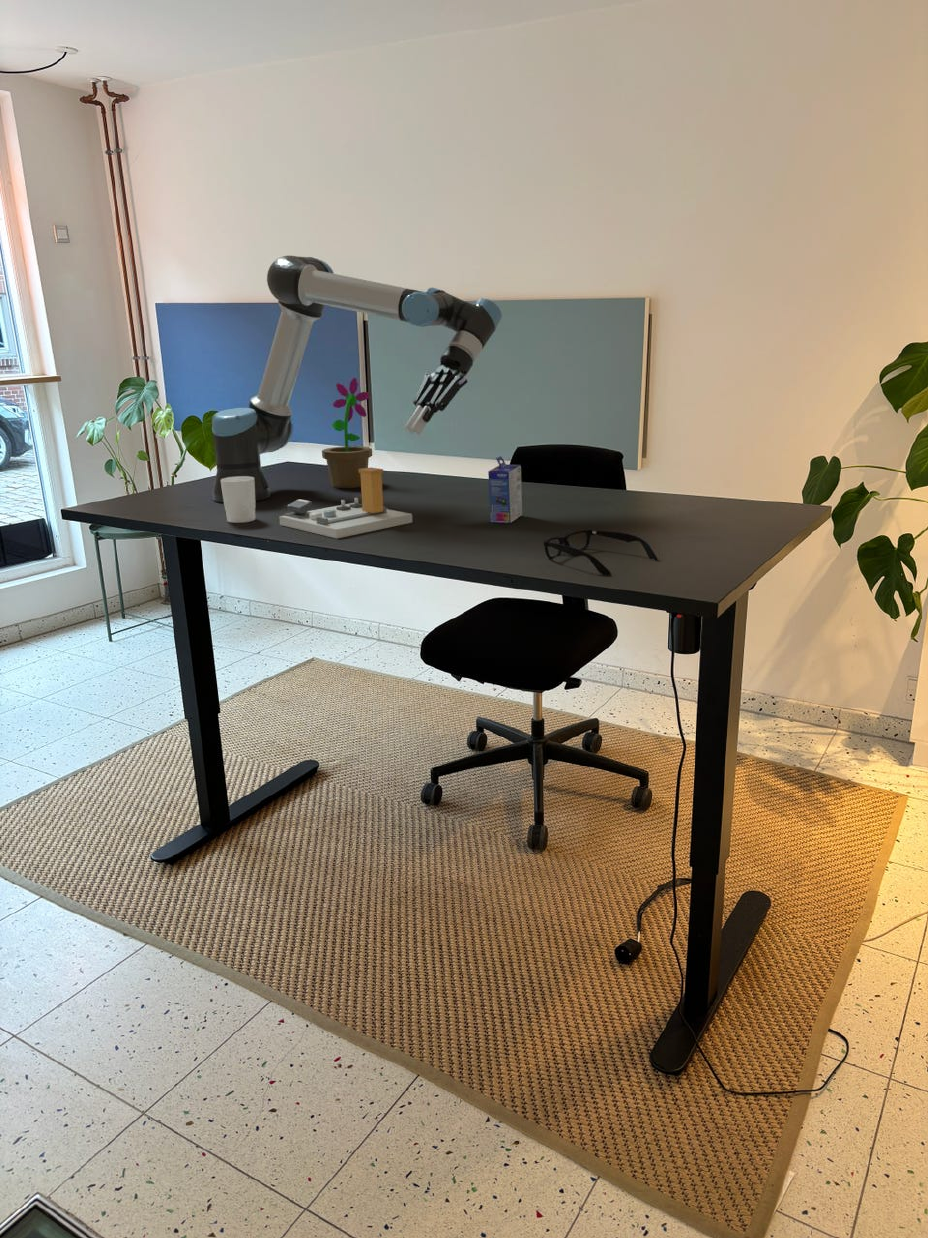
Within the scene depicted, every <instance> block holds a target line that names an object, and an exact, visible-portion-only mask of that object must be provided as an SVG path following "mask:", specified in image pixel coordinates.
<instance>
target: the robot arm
mask: <svg viewBox="0 0 928 1238" xmlns="http://www.w3.org/2000/svg"><path fill="white" fill-rule="evenodd" d="M266 283H267V286H268V289H269V292H270V293H271V295H272V296H273V297H274V298H275V299H276V300H277V303H278V306H279V308H280V311H281V312H280V314H279V315H280V316H279V319H278V323H277V326H276V330H275V334H274V337H273V340H272V345H271V348H270V352H269V355H268V358H267V362H266V365H265V368H264V372H263V375H262V376H263V377H262V380H261V382H260V386H259V390H258V393H257V395H255V396H253V397H251V398H250V400H249V405H248V407H235V408H230V409H225V410H221V411H218V412H216V413H215V414H214V415H213V416H212V419H211V422H212V425H211V426H212V427H211V432H212V437H213V445H214V446H213V448H214V455H215V465H216V474H215V480H214V484H213V488H212V500H213V501H215V502H217V503H224V500H223V494H222V487H221V479H223V478H228V477H237V476H249V477H254V480H255V502H256V501H257V502H258V501H262V500H263V501H264V500H266V499H268V498H270V497H271V491H270V490H271V489H270V487H269V484H268V482H267V479H266V477H265V474H264V472H263V470H262V465H261V455H262V454H266V453H273V452H276V451H279V450H280V449H283V448H284V447H286V446H287V445H288V444H289V442H290V440H291V439H292V437H293V432H294V425H293V424H294V423H292V418H291V416H292V413H293V411H292V408H291V407H290V406H289V404H290V400H291V397H292V395H293V394H292V393H293V391H294V387H295V385H296V380H297V379H298V378H297V377H298V375H299V371H300V368H301V364H302V361H303V357H304V354H305V351H306V347H307V344H308V340H309V337H310V333H311V331H312V327H313V323H314V322H316V321H318V320H320V319H321V318H322V315H323V311H324V309H325V306H328V307H333V308H338V309H342V310H348V311H353V312H358V313H362V314H367V315H373V316H377V317H380V318H381V317H382V318H384V319H385V318H386V319H390V320H395V321H401V322H405V323H407V324H408V323H409V324H410V325H412V326H416V327H420V328H421V327H428V326H429V327H430V326H443V327H445V328H447V329H450V330H452V331H454V332H456V333H455V334H454V336H453V337H452V339H451V340H450V342H449V343H448V346H447V347H446V348H445V349H444V351H443V353H442V355H441V356H440V359H439V360H440V365H439V366H438V367H437V368H436V369H435V371H434V372H432V373H430V372H425V374H424V378H423V380H422V383H421V384H420V387H419V389H418V391H417V392H416V394H415V396H414V398H413V400H412V403H413V405H414V406H415V408H414V410H413V411H412V413H411V415H410V417H409V418H408V420H407V422H406V424H404V429H406V431H407V432H408V433H410V435H413V434H414V433H416V435H418V436H420V435H421V433H422V432H423V431H424V429H425V427H426V426H427V424H428V423H429V422H431V420H432V417H434V415H435V414H437V412H438V411H440V412H443V411H445V410H446V408H447V406H449V404H450V402H452V400H453V399H454V397H455V396H456V395H457V394H458V393H459V391H460V390H461V389H462V388H463V387H464V386H465V385H466V384H467V383H468V382H469V381H468V380H467V378H466V376H467V375H468V373H470V370H471V368H472V367H473V366H474V365H473V364H474V363H475V362H476V361H477V359H478V358H479V356H480V354H481V353H482V351H483V349H484V348H485V347H486V345H487V343H488V342H489V340H490V338H491V337H492V336H493V334H494V333H495V332H496V330H497V327H498V325H499V324H500V322H501V320H502V317H503V315H502V311H501V309H500V307H499V306H498V305H497V303H496V302H494V301H492V300H491V299H488V298H479V299H477V300H476V302H475V303H474V304H473V303H471V302H468V301H465V300H463V299H460V298H459V297H457V296H454V295H452V294H450V293H448V292H446V291H445V290H442V289H438V288H436V287H429V288H428V289H427V290H424V291H421V290H418V289H417V290H416V289H411V288H406V287H402V286H396V285H391V284H386V283H381V282H376V281H372V280H371V281H370V280H366V279H362V278H361V279H360V278H357V277H352V276H348V275H343V274H337V273H334V271H333V269H332V267H331V266H330V265H329V264H328V263H327V262H325V261H324V260H322V259H319V258H316V257H313V256H312V257H311V256H296V255H284V256H280V257H279V258H276V259H275V260H274V261H273V262H272V263H271V264H270V266H269V268H268V271H267V274H266Z"/></svg>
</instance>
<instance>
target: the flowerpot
mask: <svg viewBox="0 0 928 1238" xmlns="http://www.w3.org/2000/svg"><path fill="white" fill-rule="evenodd" d="M335 386H336V390H337V392H338V393H339V394H340V395H341V396H343V397H345V399H344V398H339V399H336V400H335V401H334V402H333V403H332V405H333V407H334V408H337V409H340V408H343V407H345V409H344V410H345V411H344V420H341V419H337V420H334V422H332V426H331V427H332V428H333V429H334V430H335V431H337V432H341V431H343V432H344V433H343V434H344V435H343V436H344V446H334V447H327V448H323V449H322V450H321V457H322V459H324V460H326V465H327V470H328V476H329V481H330V485H331V487H333V488H338V489H351V488H352V489H353V488H354V489H355V488H361V474H360V473H359V471H358V469H363V468H369V459H370V458H371V457H372V456H373V448H371V447H368V446H358V445H357V446H353V445H352V446H349V442H356V441H359V440H360V439H361V438H360V436H359V435H357V434H353V433H349V432H348V425H349V424H348V422H351V419H352V418H353V416H354V411H355V412H356V413H357V414H358V415H359V416H361V417H363V418H365V417H367V412H366V409H365V408H364V407H363V406H362V404H360V403H357V401H359V402H363V401H366V400H368V399H369V397H371V395H370V393H369V392H367V391H362V392H358V393H357V391H358V388H359V382H358V380H357V378H356V377H353V378H352V379H351V380H350V382H349V386H348V388H347V387H346V385H344V384H342V383H340V382H337V383H336V385H335ZM348 390H349V391H348ZM356 393H357V394H356ZM355 394H356V395H355ZM353 407H354V409H353Z"/></svg>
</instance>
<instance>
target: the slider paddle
mask: <svg viewBox="0 0 928 1238" xmlns="http://www.w3.org/2000/svg"><path fill="white" fill-rule="evenodd" d="M358 471H359V473H360V474H361V487H360V488H361V489H360V490H361V504H362V510H363V511H365V512H370V513H377V512H382V511H383V507H384V500H383V499H384V498H383V497H384V495H383V477H382V474H383V473H384V469H383V468H376V467H368V468H363V469H358Z"/></svg>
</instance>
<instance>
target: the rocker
mask: <svg viewBox="0 0 928 1238" xmlns="http://www.w3.org/2000/svg"><path fill="white" fill-rule="evenodd" d="M286 506H287V510H288V511H289V512H297V513H303V512H305V511H310V509H313V508H314V505H313V502H312V501H311V500H307V499H306V500H305V499H300V498H299V499H296V500H295V501H293V502H290V503H289V504H287V505H286Z"/></svg>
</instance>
